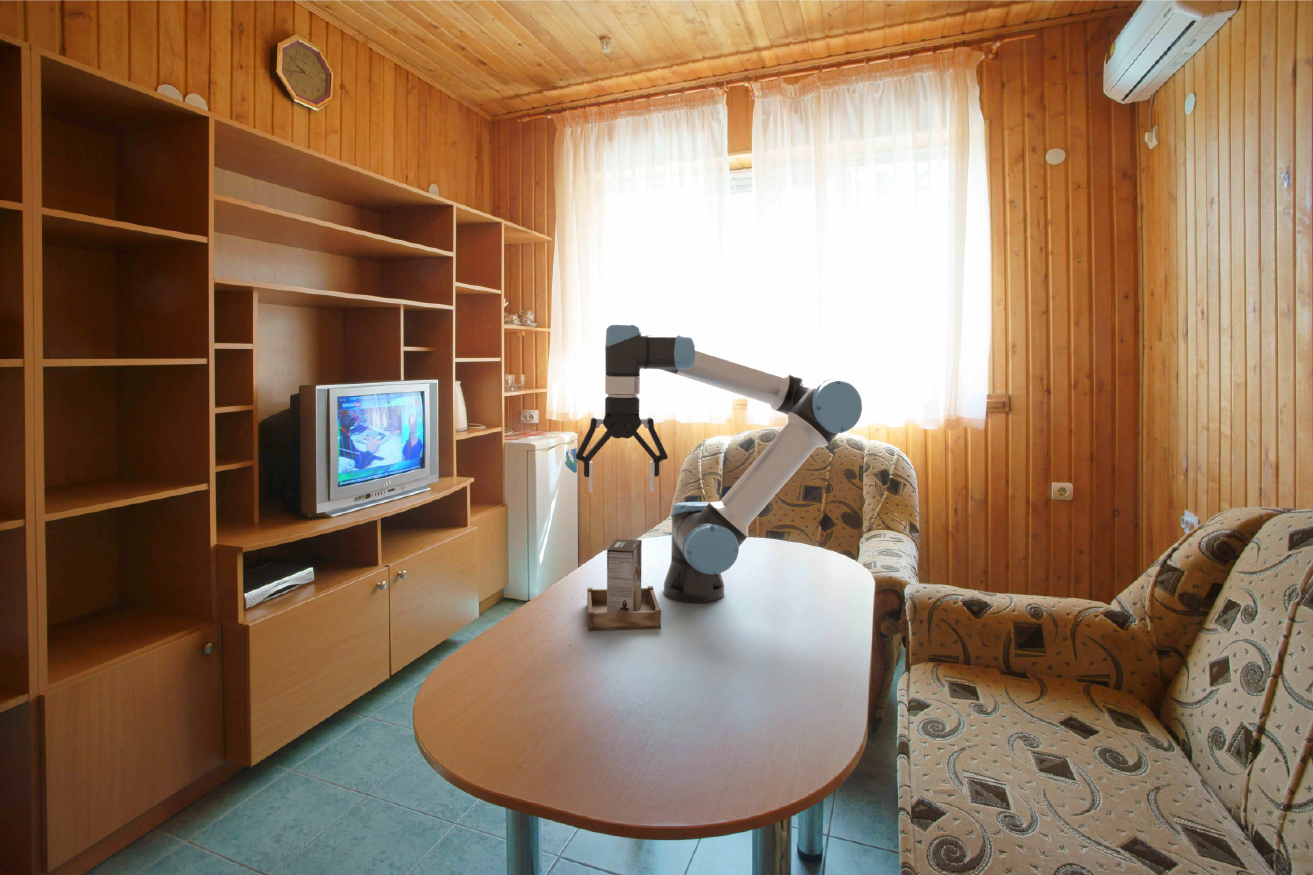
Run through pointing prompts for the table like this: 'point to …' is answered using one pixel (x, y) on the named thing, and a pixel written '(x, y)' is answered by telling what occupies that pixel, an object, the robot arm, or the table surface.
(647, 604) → the crate
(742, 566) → the table surface
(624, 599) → the coffee box
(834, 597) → the table surface
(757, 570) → the table surface
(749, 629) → the table surface
